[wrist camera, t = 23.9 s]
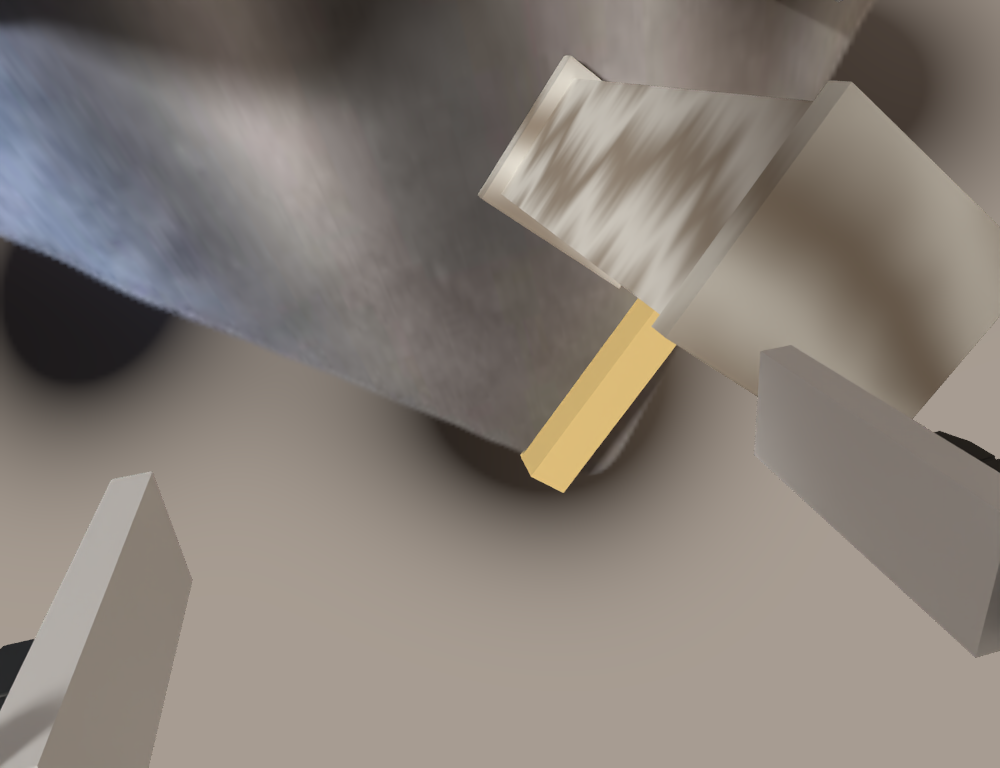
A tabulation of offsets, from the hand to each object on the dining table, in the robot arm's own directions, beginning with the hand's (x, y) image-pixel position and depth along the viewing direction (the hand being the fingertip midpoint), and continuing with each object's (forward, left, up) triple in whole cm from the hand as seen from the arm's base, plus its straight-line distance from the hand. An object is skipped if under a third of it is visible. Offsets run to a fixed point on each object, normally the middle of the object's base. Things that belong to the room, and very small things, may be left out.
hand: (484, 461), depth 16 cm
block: (+18, -17, -39) cm, 46 cm away
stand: (+16, -2, -39) cm, 42 cm away
